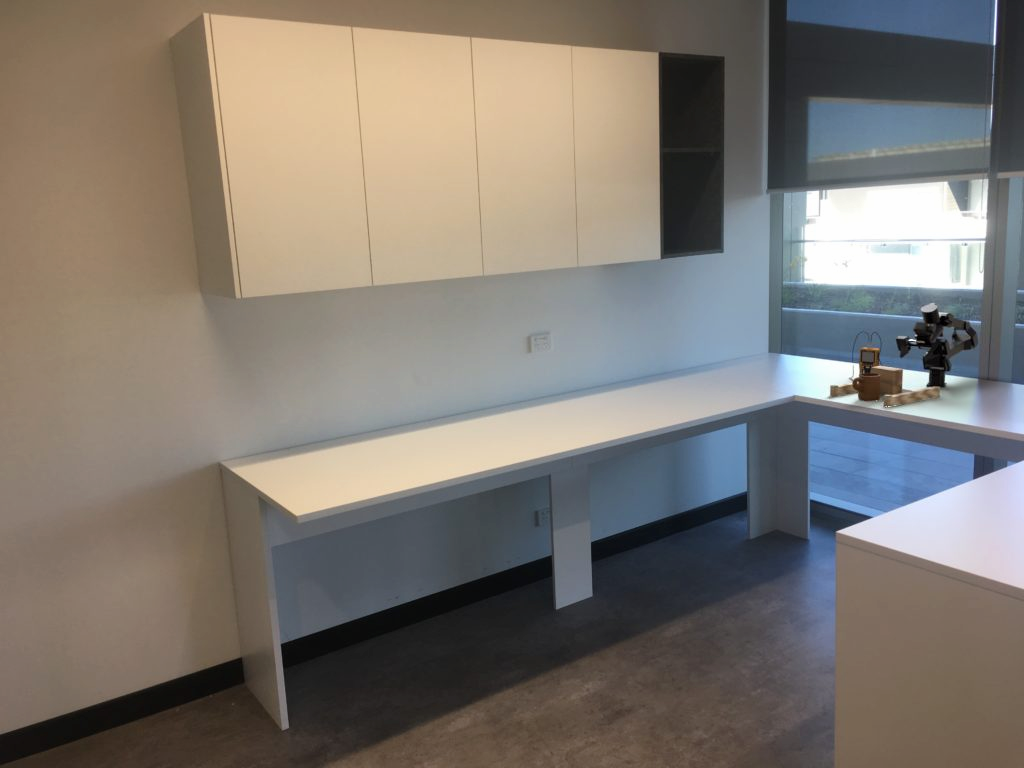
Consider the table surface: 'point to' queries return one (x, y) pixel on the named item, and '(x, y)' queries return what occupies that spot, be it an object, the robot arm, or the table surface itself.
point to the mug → (868, 386)
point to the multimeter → (868, 357)
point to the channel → (890, 399)
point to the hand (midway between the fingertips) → (912, 358)
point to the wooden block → (889, 379)
